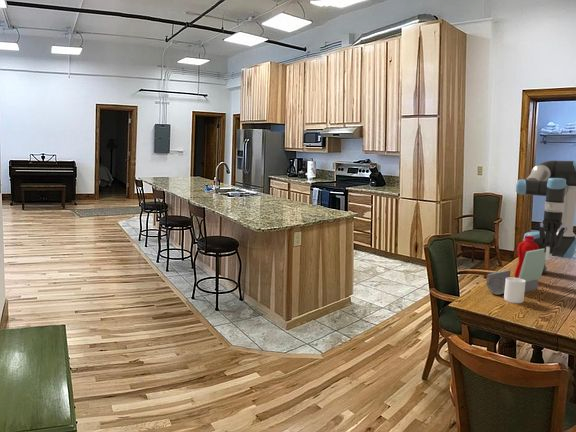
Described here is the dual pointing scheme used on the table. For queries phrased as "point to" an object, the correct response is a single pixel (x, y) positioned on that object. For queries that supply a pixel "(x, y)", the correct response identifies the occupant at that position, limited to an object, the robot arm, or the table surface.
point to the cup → (514, 290)
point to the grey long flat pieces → (504, 274)
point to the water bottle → (524, 252)
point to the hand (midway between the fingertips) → (548, 259)
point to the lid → (533, 265)
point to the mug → (496, 286)
